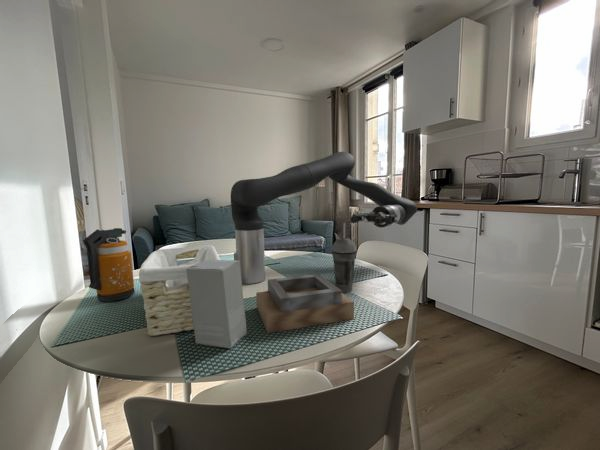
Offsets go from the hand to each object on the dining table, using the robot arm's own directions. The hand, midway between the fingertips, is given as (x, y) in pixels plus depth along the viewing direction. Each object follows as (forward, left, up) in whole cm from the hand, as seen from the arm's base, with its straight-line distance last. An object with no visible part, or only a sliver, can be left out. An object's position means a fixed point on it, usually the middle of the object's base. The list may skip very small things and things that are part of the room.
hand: (363, 220), depth 91 cm
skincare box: (-29, -43, -20) cm, 55 cm away
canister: (-70, -27, -20) cm, 77 cm away
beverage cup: (-6, -10, -20) cm, 23 cm away
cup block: (-15, -28, -20) cm, 37 cm away
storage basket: (-43, -32, -20) cm, 57 cm away
